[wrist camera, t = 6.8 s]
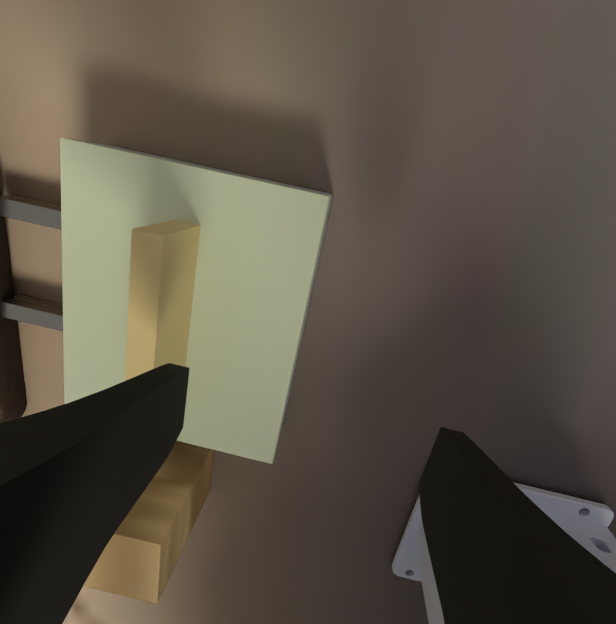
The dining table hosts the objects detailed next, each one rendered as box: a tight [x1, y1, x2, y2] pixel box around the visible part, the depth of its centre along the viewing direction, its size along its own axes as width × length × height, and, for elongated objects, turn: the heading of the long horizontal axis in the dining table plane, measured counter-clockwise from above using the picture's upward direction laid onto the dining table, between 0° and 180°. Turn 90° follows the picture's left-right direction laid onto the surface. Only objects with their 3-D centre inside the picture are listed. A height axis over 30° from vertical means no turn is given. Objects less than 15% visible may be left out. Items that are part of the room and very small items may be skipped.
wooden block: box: [83, 441, 214, 604], centre depth 19 cm, size 4×4×6 cm
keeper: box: [0, 195, 63, 331], centre depth 18 cm, size 4×6×1 cm
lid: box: [60, 138, 331, 464], centre depth 15 cm, size 10×12×4 cm
